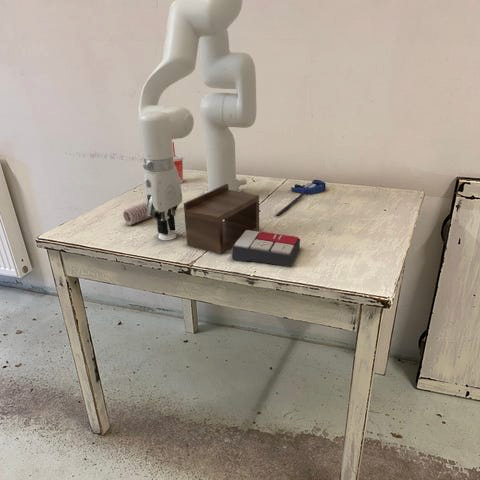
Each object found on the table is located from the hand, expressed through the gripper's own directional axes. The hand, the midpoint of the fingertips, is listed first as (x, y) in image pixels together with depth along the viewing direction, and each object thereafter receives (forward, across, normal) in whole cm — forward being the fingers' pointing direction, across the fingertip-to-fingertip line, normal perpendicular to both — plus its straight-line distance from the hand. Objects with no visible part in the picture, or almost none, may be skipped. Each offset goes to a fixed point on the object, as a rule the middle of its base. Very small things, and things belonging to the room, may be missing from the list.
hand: (166, 231), depth 134 cm
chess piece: (+2, 0, 0) cm, 2 cm away
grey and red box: (+2, +4, -30) cm, 30 cm away
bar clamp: (+2, +45, -16) cm, 48 cm away
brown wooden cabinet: (+2, +8, -14) cm, 16 cm away
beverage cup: (+2, +42, +31) cm, 52 cm away
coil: (+2, +9, +15) cm, 18 cm away
